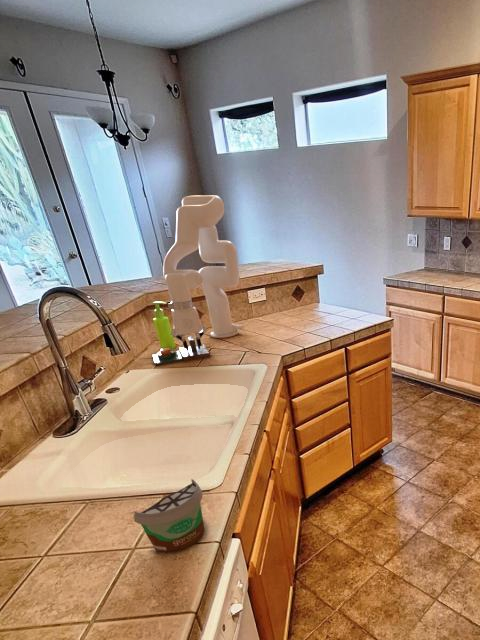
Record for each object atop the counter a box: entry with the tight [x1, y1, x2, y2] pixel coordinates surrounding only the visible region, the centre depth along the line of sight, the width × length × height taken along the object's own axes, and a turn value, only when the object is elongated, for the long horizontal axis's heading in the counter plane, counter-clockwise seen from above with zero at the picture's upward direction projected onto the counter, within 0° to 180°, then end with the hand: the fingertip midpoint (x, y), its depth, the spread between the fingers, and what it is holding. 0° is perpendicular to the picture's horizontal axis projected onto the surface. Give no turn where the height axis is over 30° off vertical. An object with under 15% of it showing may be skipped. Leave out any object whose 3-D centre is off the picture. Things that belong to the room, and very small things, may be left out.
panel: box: [178, 343, 211, 362], centre depth 181 cm, size 10×14×2 cm
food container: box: [133, 478, 205, 554], centre depth 80 cm, size 12×6×10 cm, turn 148°
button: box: [159, 348, 171, 354], centre depth 176 cm, size 4×4×2 cm
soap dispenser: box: [151, 301, 177, 350], centre depth 187 cm, size 6×7×20 cm
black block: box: [187, 336, 197, 352], centre depth 180 cm, size 5×2×5 cm, turn 31°
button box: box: [152, 349, 184, 367], centre depth 176 cm, size 10×12×3 cm
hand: (193, 348), depth 181 cm, fingers open, 4 cm apart
